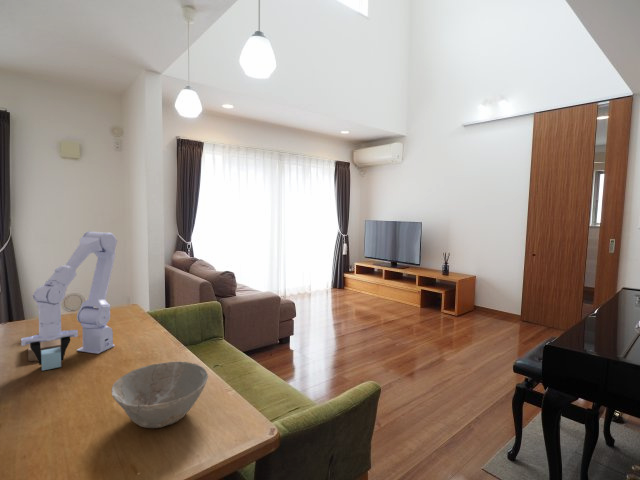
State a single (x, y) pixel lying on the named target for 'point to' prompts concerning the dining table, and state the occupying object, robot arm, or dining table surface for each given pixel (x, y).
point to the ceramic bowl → (159, 392)
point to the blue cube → (51, 358)
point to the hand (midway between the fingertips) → (51, 361)
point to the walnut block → (43, 348)
